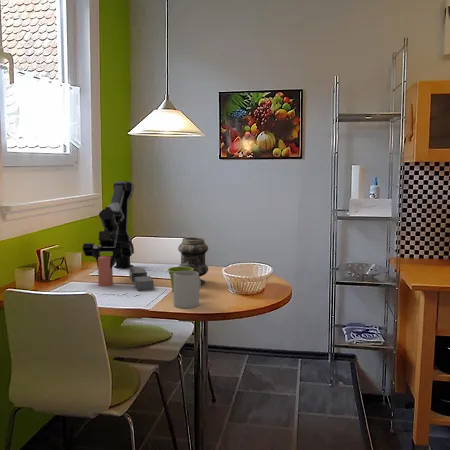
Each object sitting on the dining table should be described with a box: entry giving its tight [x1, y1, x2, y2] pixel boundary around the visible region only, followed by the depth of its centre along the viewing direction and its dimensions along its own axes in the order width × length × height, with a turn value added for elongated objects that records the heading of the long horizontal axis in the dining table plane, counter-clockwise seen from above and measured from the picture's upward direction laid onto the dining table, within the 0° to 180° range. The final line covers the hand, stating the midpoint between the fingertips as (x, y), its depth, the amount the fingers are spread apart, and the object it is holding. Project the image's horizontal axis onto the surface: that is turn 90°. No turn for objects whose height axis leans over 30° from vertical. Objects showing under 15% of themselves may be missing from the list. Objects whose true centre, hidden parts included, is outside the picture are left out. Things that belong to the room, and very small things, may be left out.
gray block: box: [128, 268, 154, 292], centre depth 205 cm, size 23×6×4 cm, turn 18°
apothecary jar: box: [177, 236, 209, 286], centre depth 205 cm, size 12×12×18 cm
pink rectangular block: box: [97, 255, 114, 287], centre depth 203 cm, size 4×4×11 cm
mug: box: [173, 271, 202, 309], centre depth 176 cm, size 12×8×11 cm
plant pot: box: [167, 266, 193, 294], centre depth 192 cm, size 9×9×9 cm
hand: (104, 267), depth 201 cm, fingers closed on pink rectangular block, 4 cm apart
